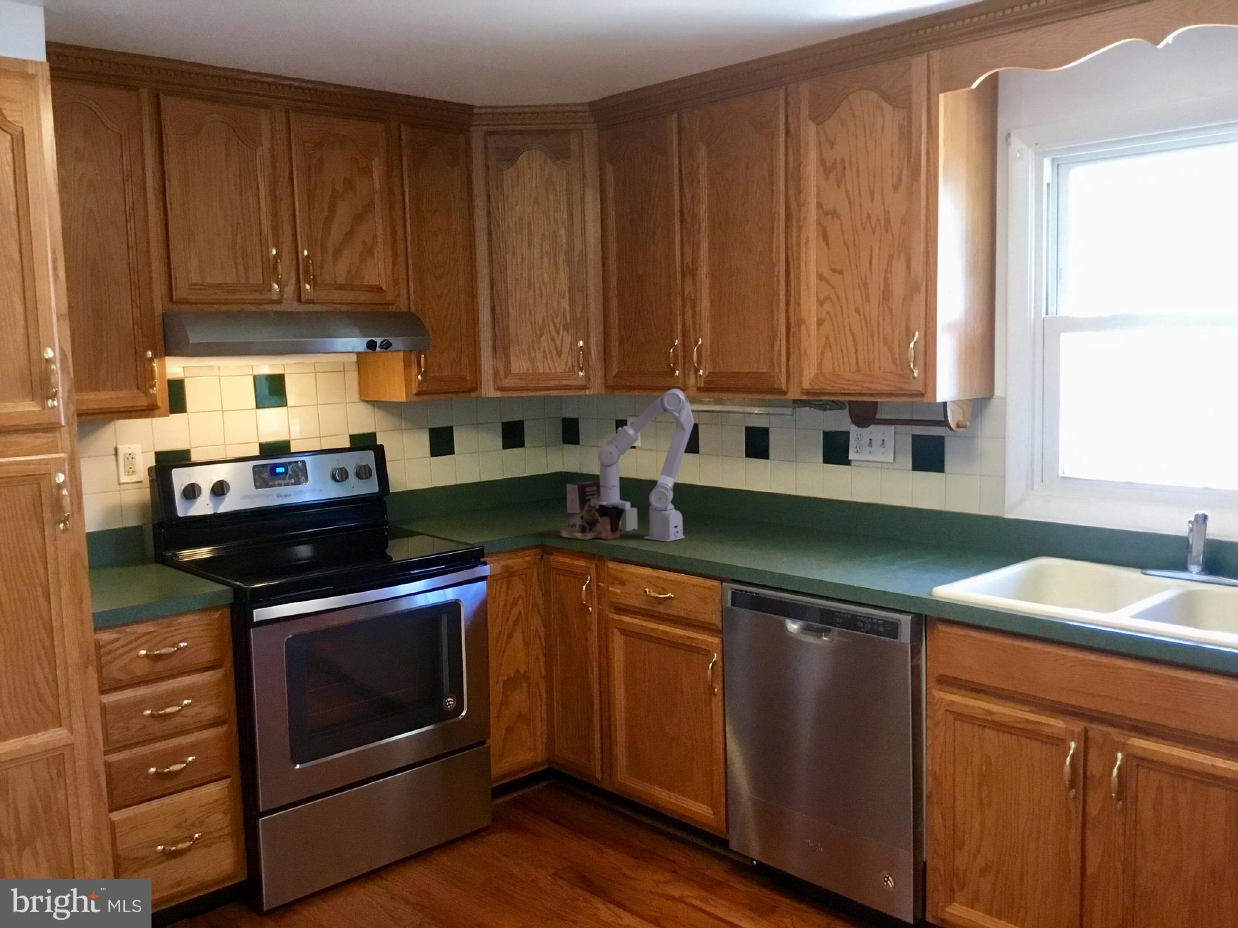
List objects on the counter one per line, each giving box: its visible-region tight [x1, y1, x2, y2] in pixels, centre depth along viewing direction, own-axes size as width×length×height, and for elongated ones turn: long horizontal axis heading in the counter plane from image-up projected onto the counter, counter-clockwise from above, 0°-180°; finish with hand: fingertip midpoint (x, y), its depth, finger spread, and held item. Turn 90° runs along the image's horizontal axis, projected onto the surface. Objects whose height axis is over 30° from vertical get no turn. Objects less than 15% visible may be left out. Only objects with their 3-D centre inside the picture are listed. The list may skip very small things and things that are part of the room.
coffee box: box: [566, 480, 602, 534], centre depth 330 cm, size 9×6×16 cm
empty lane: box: [619, 507, 639, 532], centre depth 343 cm, size 16×8×6 cm, turn 46°
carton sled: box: [559, 516, 621, 541], centre depth 328 cm, size 16×13×6 cm
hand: (611, 531), depth 324 cm, fingers open, 2 cm apart
